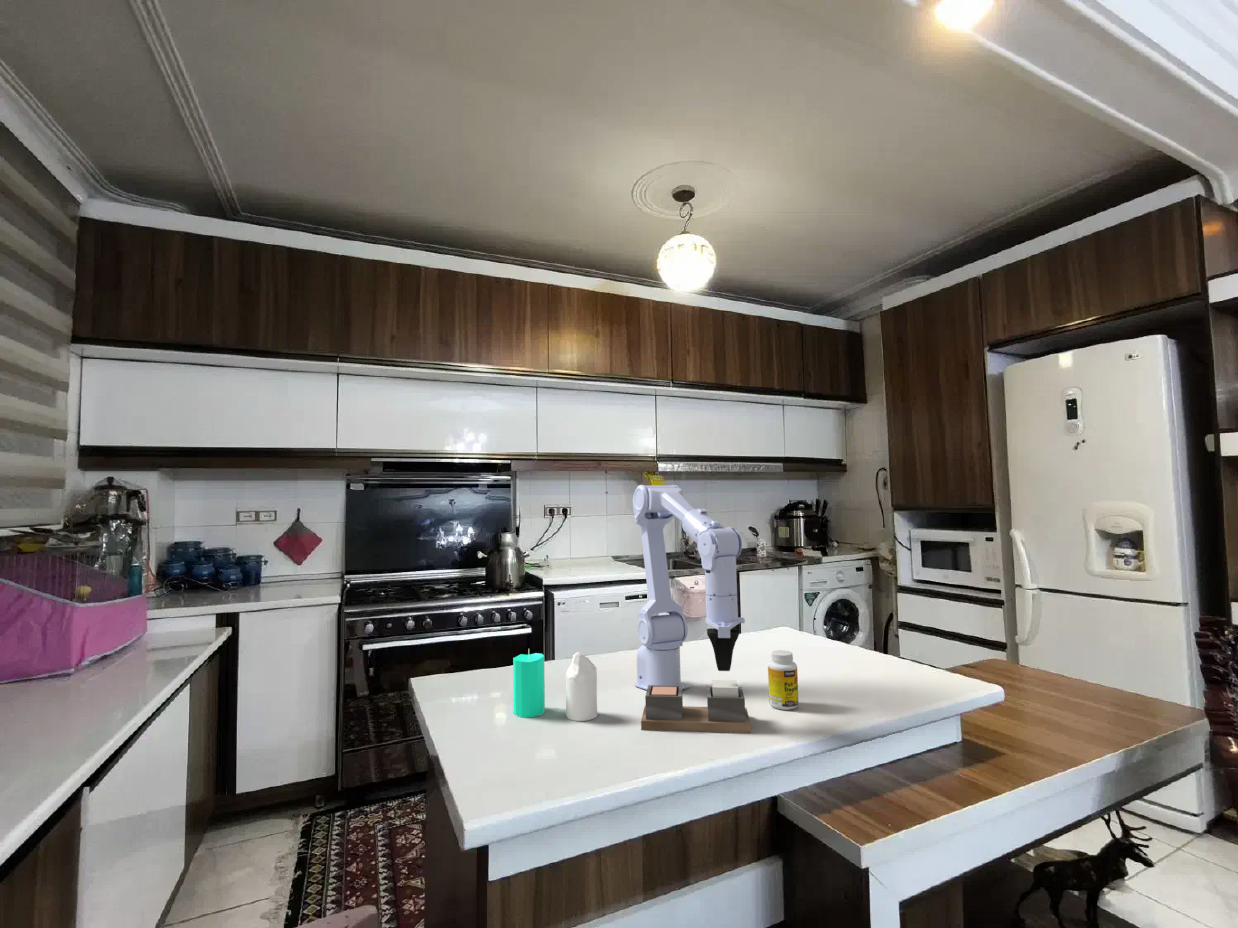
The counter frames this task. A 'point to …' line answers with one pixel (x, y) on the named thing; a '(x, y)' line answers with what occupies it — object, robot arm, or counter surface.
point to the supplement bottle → (783, 681)
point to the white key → (725, 688)
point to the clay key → (664, 691)
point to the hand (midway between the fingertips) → (723, 669)
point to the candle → (528, 685)
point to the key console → (695, 713)
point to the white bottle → (581, 689)
